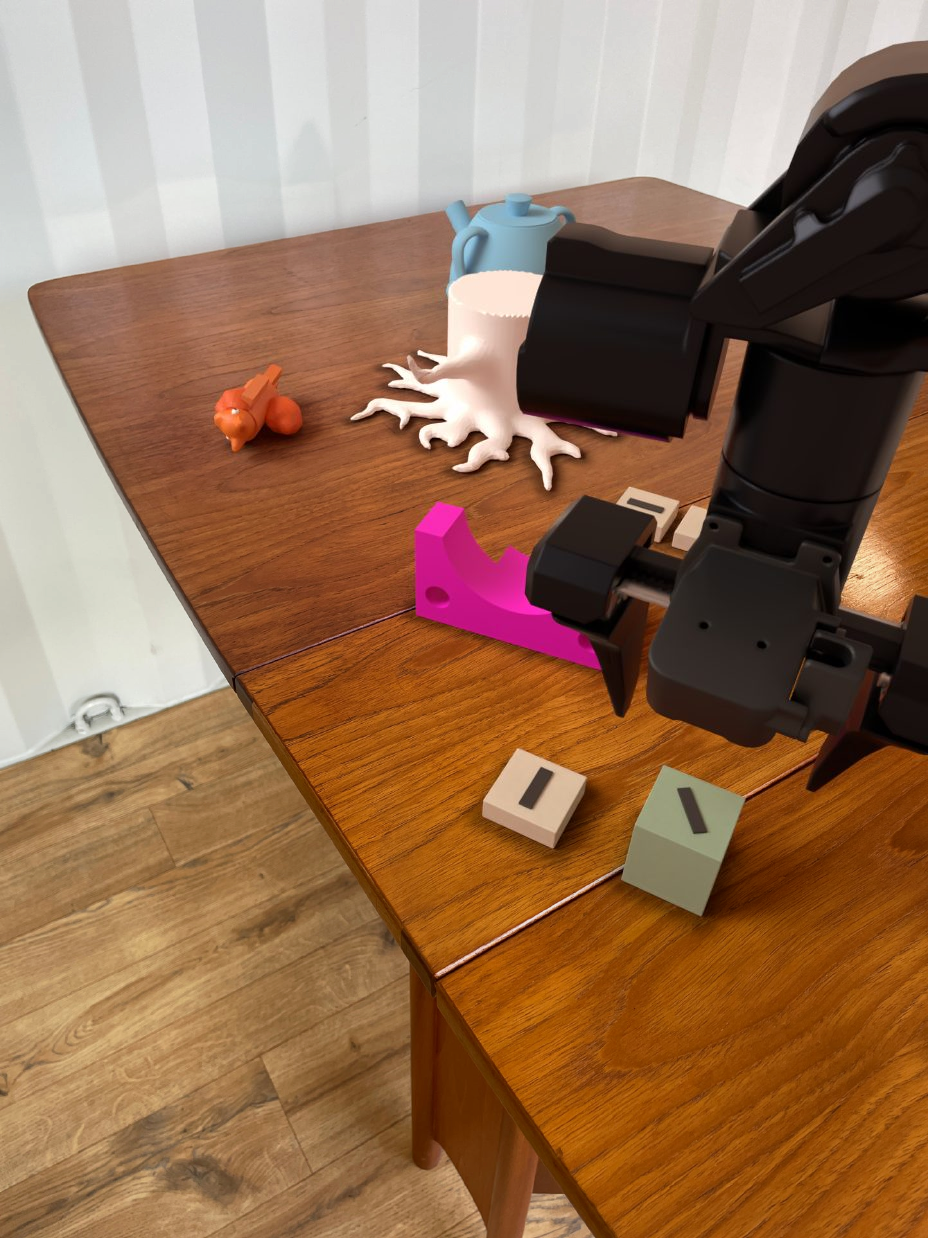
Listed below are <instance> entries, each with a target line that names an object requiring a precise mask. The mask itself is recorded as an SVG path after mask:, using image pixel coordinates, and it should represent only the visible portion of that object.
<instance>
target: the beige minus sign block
mask: <svg viewBox="0 0 928 1238" xmlns="http://www.w3.org/2000/svg"><path fill="white" fill-rule="evenodd" d="M587 780H588V777H587V776H585V775H583V774H580V773H578V772H576V771H574V770H571V769H569V768H566V767H564V766H562V765H559V764H557V763H555V762H553V761H549V760H548V759H545V758H543V757H541V756H538V755H536V754H533V753H531V752H528V751H526V750H524V749H522V748H518V747H517V749H516V750H515V751H514V753H513V754H512V756H511V757H510V759H509V760H508V762H507V764H506V765H505V766H504V768H503V769H502V771H501V773H500V774H499V776H498V777H497V779H496V780H495V782H494V783H493V785H492V786H491V788H490V789H489V791H488V793H486V795H485V797H484V799H483V800H482V812H481V814H482V817H483V818H484V819H487V820H488V821H491V822H493V823H496V824H498V825H500V826H502V827H505V828H507V829H509V830H511V831H513V832H515V833H517V834H520V835H522V836H525V837H526V838H529V839H531V840H533V841H535V842H537V843H539V844H542V845H544V846H546V847H547V848H551V849H553V850H554V848H555V847H556V845H557V843H558V842H559V840H560V837H561V836H562V834H563V832H564V831H565V829H566V827H567V825H568V823H569V822H570V820H571V818H572V817H573V814H574V813H575V811H576V810H577V807H578V805H579V803H580V802H581V800H582V798H583V797H584V795H585V792H586V785H587V782H588V781H587Z"/></svg>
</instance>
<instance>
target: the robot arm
mask: <svg viewBox="0 0 928 1238" xmlns="http://www.w3.org/2000/svg"><path fill="white" fill-rule="evenodd" d="M562 225H563V226H562V227H561V228H560V229H559V230H558V231H557V232H556V233H555V234H554V235H553V236H552V238H551V239H550V240H549V241H548V242H547V251H546V263H545V272H544V274H543V277H542V279H541V282H540V285H539V287H538V290H537V293H536V297H535V300H534V304H533V307H532V311H531V315H530V320H529V324H528V329H527V334H526V339H525V340H524V342H523V343H522V344H521V345H520V347H519V351H518V357H517V369H516V391H517V401H518V405H519V408H520V410H521V412H522V413H523V414H526V415H531V416H536V417H541V418H546V419H551V420H556V421H561V422H560V423H566V424H570V423H571V425H577V426H582V427H584V426H586V427H585V428H588V427H591V428H590V429H592V428H596V429H601V430H606V431H611V432H616V433H617V434H622V435H627V436H632V437H637V438H642V439H648V440H652V441H656V442H657V441H658V442H662V443H667V444H670V443H672V442H673V439H674V438H675V439H679V440H684V438H685V434H686V431H687V427H688V424H689V420H690V416H692V419H693V420H699V421H703V422H708V421H709V419H710V417H711V413H712V410H713V407H714V403H715V401H716V396H717V394H718V393H717V392H718V389H719V387H720V386H719V385H720V382H721V378H722V375H723V370H724V366H725V362H726V358H727V355H728V349H729V344H730V340H736V341H742V342H747V344H746V348H745V351H744V356H743V360H742V365H741V369H740V374H739V377H738V381H737V384H736V385H737V386H736V389H735V393H734V397H733V401H732V406H731V409H730V414H729V419H728V423H727V426H726V430H725V435H724V439H723V444H722V447H721V451H720V456H719V460H718V465H717V469H716V474H715V476H714V481H713V485H712V488H711V492H710V498H709V501H708V504H707V505H708V506H707V513H706V518H705V520H704V521H703V525H702V529H701V533H700V535H699V536H698V538H697V539H696V541H695V542H694V543H693V545H692V546H691V547H690V549H689V550H688V551H686V553H685V555H684V556H683V558H680V557H677V556H674V555H670V554H668V553H665V552H661V551H658V550H655V549H652V548H651V547H652V545H653V543H654V542H655V541H654V538H655V533H656V528H657V523H658V522H657V520H656V518H655V516H654V515H651V514H647V513H644V512H641V511H637V510H634V509H631V508H628V507H624V506H621V505H618V504H616V503H614V502H611V501H608V500H604V499H600V498H598V497H595V496H591V495H587V494H582V496H579V497H578V498H577V499H575V500H573V501H572V502H570V503H569V504H567V506H566V508H565V509H563V511H562V513H561V514H560V515H559V516H558V517H557V518H556V520H555V521H554V522H553V523H552V524H551V526H549V528H548V530H546V532H545V533H544V534H543V535H542V537H541V538H540V539H539V540H538V542H537V543H535V545H534V546H533V547H532V550H531V553H530V556H529V557H530V558H529V561H528V564H527V571H526V582H525V596H526V598H527V599H528V601H529V603H530V605H532V606H535V607H538V608H541V609H543V610H546V611H549V612H551V615H552V618H553V620H554V621H555V622H556V623H558V624H560V625H562V626H565V627H568V628H570V629H572V630H575V631H577V632H579V633H581V634H583V635H585V636H586V637H587V638H588V639H589V641H590V643H591V646H592V648H593V650H594V652H595V654H596V656H597V659H598V661H599V664H600V667H601V670H600V671H601V674H602V677H603V681H604V683H605V685H606V689H607V693H608V696H609V699H610V703H611V706H612V708H613V712H614V715H615V716H616V717H618V718H621V719H623V718H625V717H626V714H627V713H628V711H629V709H630V707H631V704H632V701H633V699H634V694H635V691H636V687H637V685H638V681H639V675H640V669H641V663H642V655H643V648H644V643H645V635H646V629H647V622H648V616H649V609H650V604H652V605H655V606H657V607H660V608H664V609H666V611H665V613H664V614H663V617H662V619H661V621H660V623H659V625H658V628H657V629H656V632H655V634H654V637H653V639H652V641H651V643H650V645H649V647H648V656H647V657H648V658H647V674H646V686H645V687H646V688H645V697H646V701H647V703H648V706H649V707H650V709H651V710H652V711H653V712H655V713H656V714H658V715H659V716H662V717H664V718H666V719H668V720H671V721H679V722H683V723H685V724H687V725H691V726H693V727H695V728H699V729H700V730H704V731H707V732H709V733H712V734H714V735H717V736H720V737H721V738H724V739H725V740H726V741H727V742H729V743H731V744H733V745H736V746H739V747H742V748H749V749H750V748H751V749H755V748H756V749H757V748H760V747H763V746H765V745H768V744H769V743H770V742H771V741H772V740H773V739H774V738H775V737H776V734H779V735H780V736H781V735H782V736H784V737H786V738H789V739H792V740H797V742H801V743H803V744H807V742H808V739H809V737H810V734H811V732H814V731H818V732H821V733H825V734H827V736H826V738H825V739H824V741H823V743H822V745H821V746H820V748H819V751H818V753H817V756H816V759H815V761H814V763H813V765H812V768H811V770H810V773H809V776H808V779H807V783H806V785H805V790H806V791H809V792H810V793H817V792H818V791H819V790H820V789H822V788H823V787H824V786H826V785H827V784H829V783H830V782H831V781H833V780H834V779H836V778H837V777H838V776H840V775H841V774H843V773H844V772H845V771H847V770H848V769H850V768H851V767H852V766H854V765H856V764H857V763H858V762H860V761H861V760H863V759H865V758H866V757H868V756H870V755H872V754H875V753H876V752H878V751H881V750H883V749H884V748H886V747H895V748H898V749H902V750H906V751H910V752H912V753H915V754H918V755H921V756H928V597H926V596H924V595H920V594H914V595H913V596H912V597H911V598H910V599H909V601H908V604H907V606H906V608H905V610H904V612H903V615H902V617H901V620H900V622H896V621H893V620H890V619H887V618H883V617H881V616H877V615H874V614H872V613H871V614H870V613H868V612H864V611H862V610H858V609H855V608H851V607H848V606H845V605H843V604H841V602H842V593H843V590H844V588H845V585H846V583H847V580H848V577H849V575H850V573H851V570H852V568H853V565H854V562H855V559H856V557H857V555H858V553H859V550H860V546H861V544H862V541H863V539H864V537H865V533H866V531H867V528H868V526H869V523H870V521H871V518H872V516H873V513H874V511H875V507H876V505H877V503H878V501H879V498H880V494H881V493H882V489H883V487H884V484H885V482H886V479H887V476H888V474H889V471H890V469H891V466H892V463H893V461H894V458H895V456H896V453H897V451H898V448H899V445H900V443H901V441H902V437H903V435H904V433H905V431H906V427H907V424H908V422H909V420H910V417H911V415H912V412H913V409H914V407H915V404H916V401H917V399H918V396H919V393H920V392H921V389H922V386H923V383H924V380H925V378H926V375H927V373H928V40H926V39H925V40H917V41H916V40H915V41H905V42H900V43H894V44H891V45H889V46H886V47H884V48H881V49H879V50H877V51H875V52H872V53H869V54H867V55H864V56H861V57H860V58H859V59H857V60H856V61H855V62H853V63H852V64H850V65H849V66H848V67H846V68H845V69H843V70H842V71H841V72H840V73H839V74H838V76H837V77H835V79H833V80H832V81H831V83H830V84H829V86H827V88H826V89H825V91H824V92H823V94H822V95H821V96H820V97H819V99H818V100H817V101H816V103H815V104H814V105H813V107H812V108H811V110H810V112H809V114H808V117H807V119H806V122H805V125H804V127H803V130H802V132H801V134H800V137H799V140H798V142H797V145H796V147H795V149H794V152H793V155H792V157H791V160H790V162H789V165H788V168H787V169H786V170H785V171H784V172H783V173H782V174H780V175H779V177H777V178H776V179H775V181H773V182H772V183H771V184H770V185H769V186H768V187H767V188H766V189H765V190H764V191H763V192H762V193H761V194H760V195H759V196H758V197H757V198H756V199H755V200H754V201H752V202H751V204H749V205H748V206H747V207H746V208H745V209H744V208H743V209H738V210H737V211H736V213H735V216H734V218H733V220H732V222H731V223H730V224H729V225H727V227H726V229H725V231H724V233H723V234H722V237H721V239H720V241H719V243H718V245H717V247H716V248H715V247H710V246H703V245H697V244H690V243H683V242H675V241H670V240H669V241H668V240H660V239H654V238H647V237H639V236H632V235H626V234H623V233H618V232H615V231H613V230H611V229H608V228H607V227H603V226H601V225H596V224H592V223H591V224H590V223H583V222H577V221H576V222H570V221H568V222H567V223H565V224H564V223H563V224H562Z"/></svg>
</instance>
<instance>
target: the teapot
mask: <svg viewBox="0 0 928 1238" xmlns="http://www.w3.org/2000/svg"><path fill="white" fill-rule="evenodd" d="M504 200H505V201H504V202H498V203H497V202H496V203H492V204H488V205H486V206H483V207H482V208H481V209H480V210H478V211H477V213H476V214H475V215H474V217H473V218H472V216H471V214H470V212H469V210H468V208H467V206H466V204H465V202H464V200H463V199H459V200H455V201H454V202H452V203H450V204H449V205H447V206H446V208H445V209H444V212H445V214H446V216H447V218H448V220H449V222H450V224H451V226H452V228H453V230H454V233H455V234H456V235H455V237H454V238H453V241H452V245H451V258H452V260H451V263H450V269H449V281H448V284H447V285H446V289H445V294H446V297H447V298H448V291H449V287H450V285H451V284H452V283H453V282H454V281H457V280H458V279H459V278H460V277H462V276H465V275H468V274H477V273H479V272H487V271H495V270H496V271H499V270H502V271H504V270H506V271H509V270H511V271H518V272H521V271H524V272H526V273H529V272H531V273H533V274H537V275H543V274H544V272H545V263H546V251H547V242H548V241H549V240H550V239H551V238H552V236H553V235H554V234H555V233H556V232H557V231H558V230H559V229H560V228H561V227H562V226H563V225H564V224H565V223H567V222H568V221H570V222H577V218H576V215H575V213H574V212H573V211H572V210H571V209H570V208H568V207H566V206H562V205H554V206H551V207H550V208H548V207H547V206H543V205H540V204H535V203H532V202H533V197H532V196H531V195H529V194H527V193H524V192H523V193H521V192H513V193H512V192H511V193H508V194H506V195H504ZM561 216H563V221H564V222H563V223H562V221H561V219H560V218H559V217H561Z"/></svg>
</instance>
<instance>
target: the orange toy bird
mask: <svg viewBox="0 0 928 1238" xmlns="http://www.w3.org/2000/svg"><path fill="white" fill-rule="evenodd" d="M282 372H283V367H281V366H279V365H276V364H274V363H271V364H270V365H269V366H268V368H267V369H266V371H264V373H263V374H261V373H257V374H256V375H255V376H254V378H251V379H249V380H248V381H247V382H246V383H245V384H244V386H243V387H237V388H233V389H227V390H225V391H223V394H222V396H221V397H220V399H219V400H218V401H217V402H216V404H215V407H214V412H215V414H214V416H213V417H212V420H213V422H214V424H215V425H216V427H217V428H218V429H219V430H220V431H221V432H222V433H223V434H224V436H225V438H226V439H227V440H228V441H230V443H231V444H230V445H231V451H232V452H234V453H239V452H240V450H241V449H242V448H243V446H244V445H245V444H246V442H248V441H249V442H250V441H251V440H253V439H255V437H256V436H257V435H258V433H259V432H260V431H261V429H262V427H263V426H264V425H266V426H267V427H268V428H269V429H270V430H271V431H272V432H274V433H277V434H281V435H285V436H288V435H294V434H296V433H297V432H299V430H300V428H301V427H302V425H303V415H302V411H301V407H300V406H299V405H298V403H297V402H295V401H294V400H293V399H291V398H290V397H289V396H286V395H279V392H278V390H277V388H278V384H279V382H278V381H279V380H280V378H281V376H282V374H283V373H282Z"/></svg>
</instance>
